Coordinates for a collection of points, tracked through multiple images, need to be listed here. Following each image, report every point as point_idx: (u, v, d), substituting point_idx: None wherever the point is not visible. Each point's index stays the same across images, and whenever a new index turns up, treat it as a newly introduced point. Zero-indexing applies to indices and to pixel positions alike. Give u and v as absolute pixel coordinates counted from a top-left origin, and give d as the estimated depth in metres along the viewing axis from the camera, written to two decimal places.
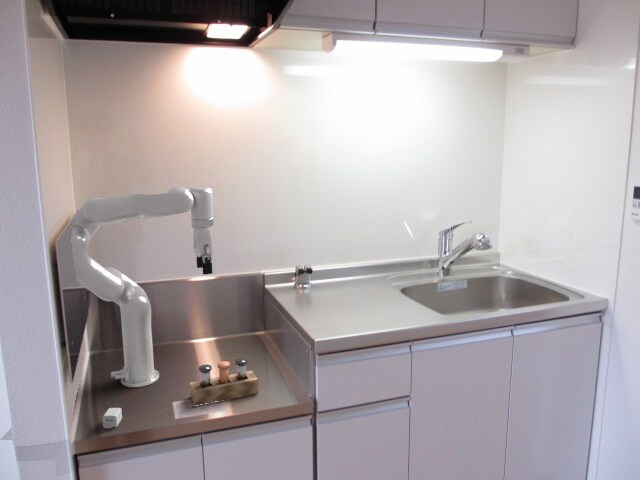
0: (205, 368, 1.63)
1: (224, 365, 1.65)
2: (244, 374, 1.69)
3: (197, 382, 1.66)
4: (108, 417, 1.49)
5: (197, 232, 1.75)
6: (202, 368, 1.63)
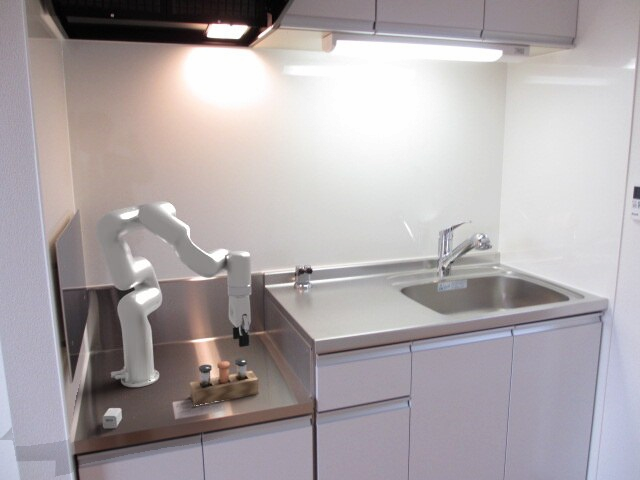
0: (205, 368, 1.63)
1: (224, 365, 1.65)
2: (244, 374, 1.69)
3: (197, 382, 1.66)
4: (108, 417, 1.48)
5: (234, 300, 1.61)
6: (202, 368, 1.63)
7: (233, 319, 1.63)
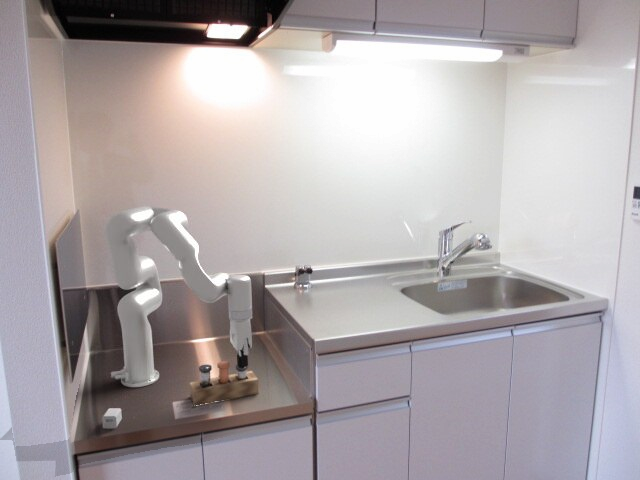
0: (205, 368, 1.63)
1: (224, 365, 1.65)
2: (244, 379, 1.69)
3: (197, 382, 1.66)
4: (108, 417, 1.48)
5: (235, 324, 1.62)
6: (202, 368, 1.63)
7: (234, 343, 1.64)
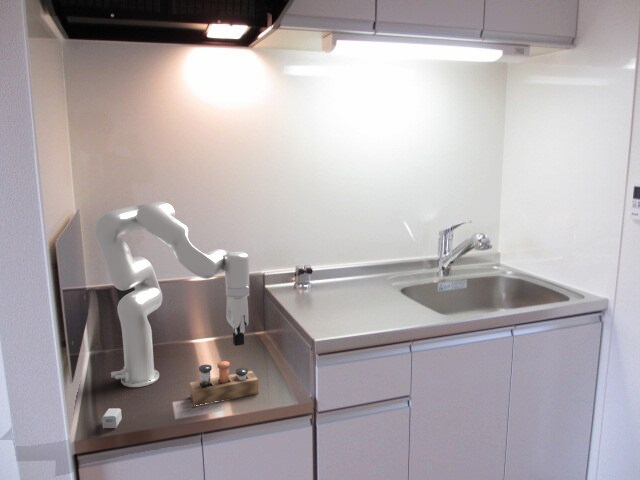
0: (205, 368, 1.63)
1: (224, 365, 1.65)
2: None
3: (197, 382, 1.66)
4: (108, 418, 1.48)
5: (232, 301, 1.60)
6: (202, 368, 1.63)
7: (231, 320, 1.63)
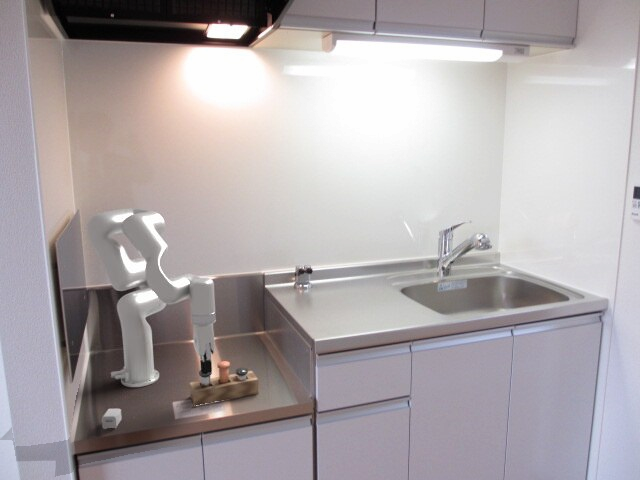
0: None
1: (224, 365, 1.65)
2: None
3: (197, 382, 1.66)
4: (107, 418, 1.48)
5: (197, 329, 1.57)
6: None
7: (197, 348, 1.59)
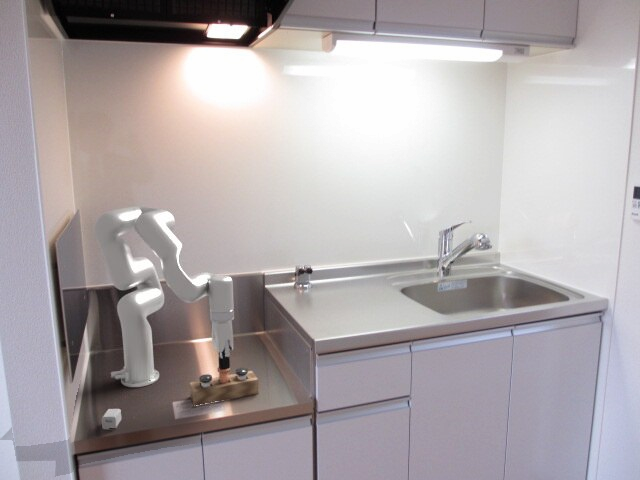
0: (205, 378, 1.64)
1: (224, 369, 1.65)
2: None
3: (197, 382, 1.66)
4: (107, 418, 1.48)
5: (216, 326, 1.60)
6: (202, 378, 1.64)
7: (216, 344, 1.62)
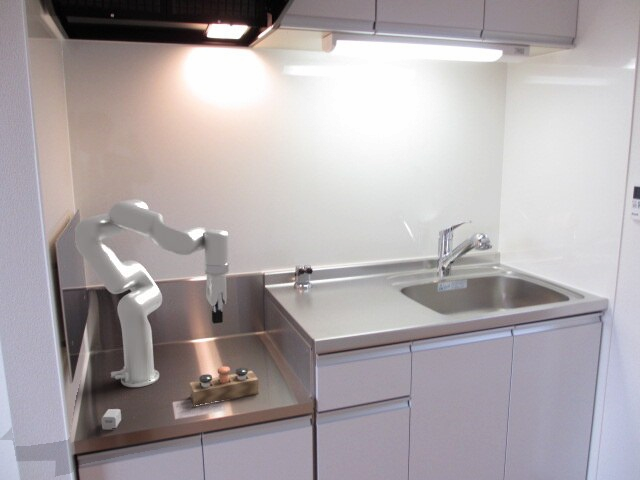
0: (205, 378, 1.64)
1: (224, 370, 1.65)
2: None
3: (197, 382, 1.66)
4: (107, 418, 1.48)
5: (210, 279, 1.61)
6: (202, 378, 1.64)
7: (209, 297, 1.63)
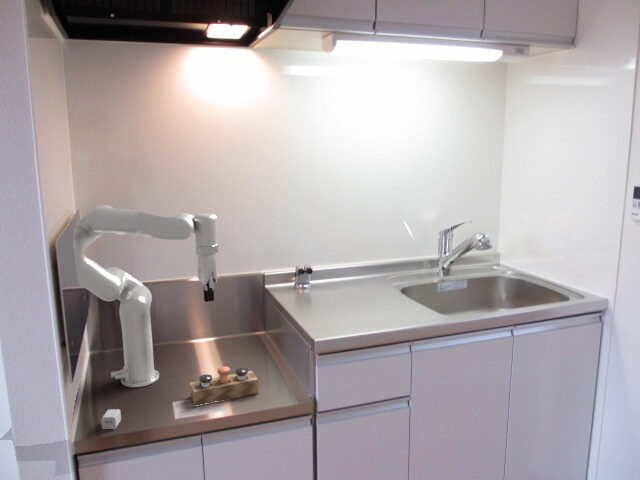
0: (205, 378, 1.64)
1: (224, 370, 1.65)
2: None
3: (197, 382, 1.66)
4: (107, 419, 1.48)
5: (201, 259, 1.72)
6: (202, 378, 1.64)
7: (201, 277, 1.74)
